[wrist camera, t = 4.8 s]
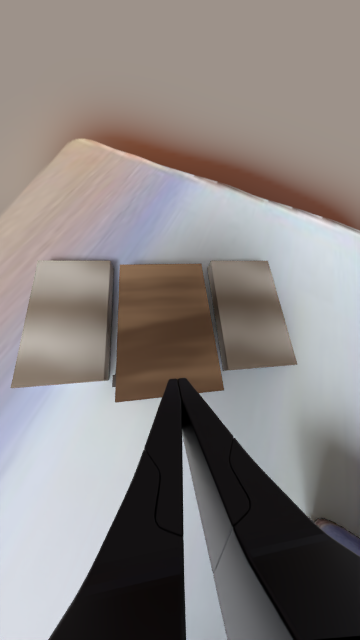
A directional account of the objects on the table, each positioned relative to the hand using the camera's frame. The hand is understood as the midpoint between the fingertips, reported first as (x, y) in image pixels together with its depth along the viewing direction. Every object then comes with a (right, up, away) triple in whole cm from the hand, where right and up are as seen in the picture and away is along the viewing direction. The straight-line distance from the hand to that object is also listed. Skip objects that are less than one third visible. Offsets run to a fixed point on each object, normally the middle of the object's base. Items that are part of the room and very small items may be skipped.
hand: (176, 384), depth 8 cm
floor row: (-1, +3, +10) cm, 11 cm away
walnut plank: (-1, -3, +6) cm, 6 cm away
